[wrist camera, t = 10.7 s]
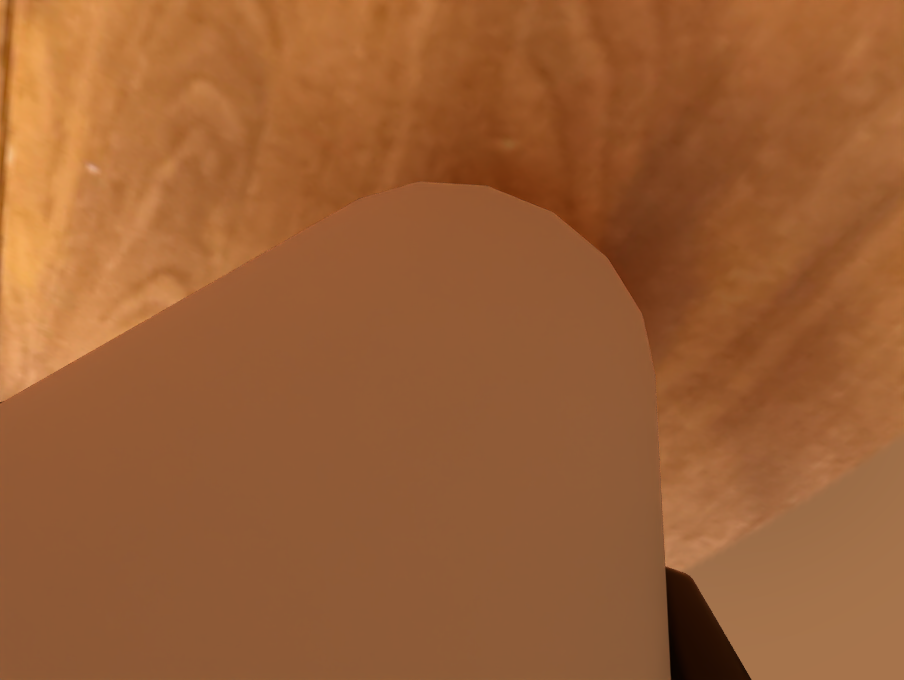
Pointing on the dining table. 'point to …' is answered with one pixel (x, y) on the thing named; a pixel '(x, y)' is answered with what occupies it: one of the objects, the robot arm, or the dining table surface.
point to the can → (351, 466)
